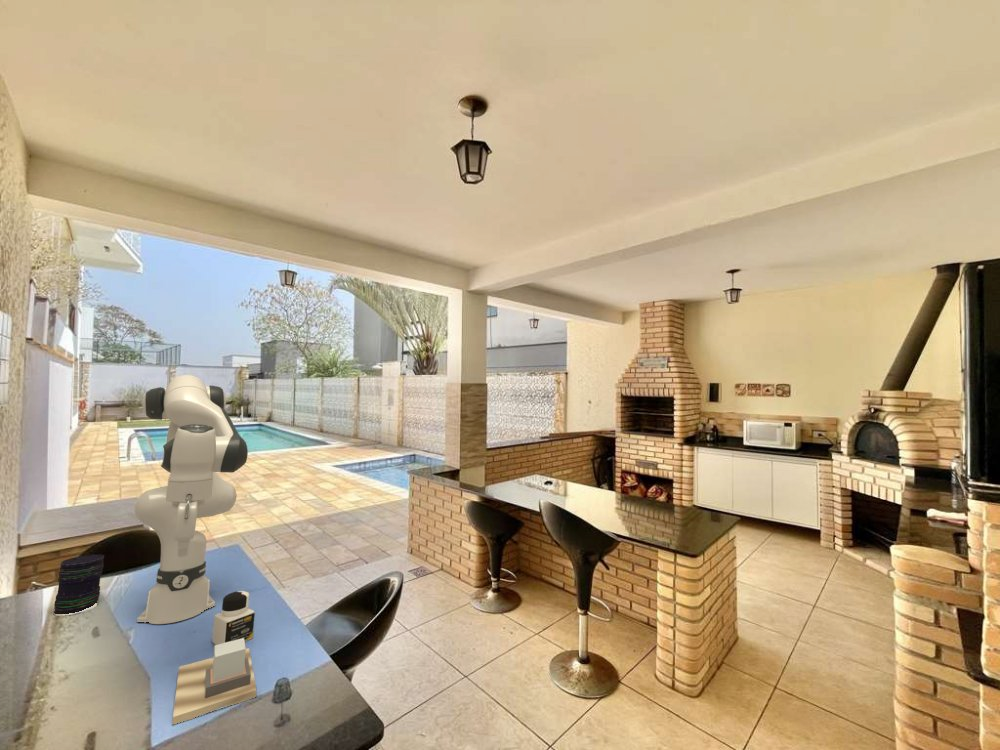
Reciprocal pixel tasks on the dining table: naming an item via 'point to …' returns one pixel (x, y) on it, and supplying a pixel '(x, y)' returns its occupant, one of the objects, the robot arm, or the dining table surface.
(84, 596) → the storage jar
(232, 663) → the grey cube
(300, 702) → the dining table surface
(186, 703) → the board
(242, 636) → the medicine bottle
